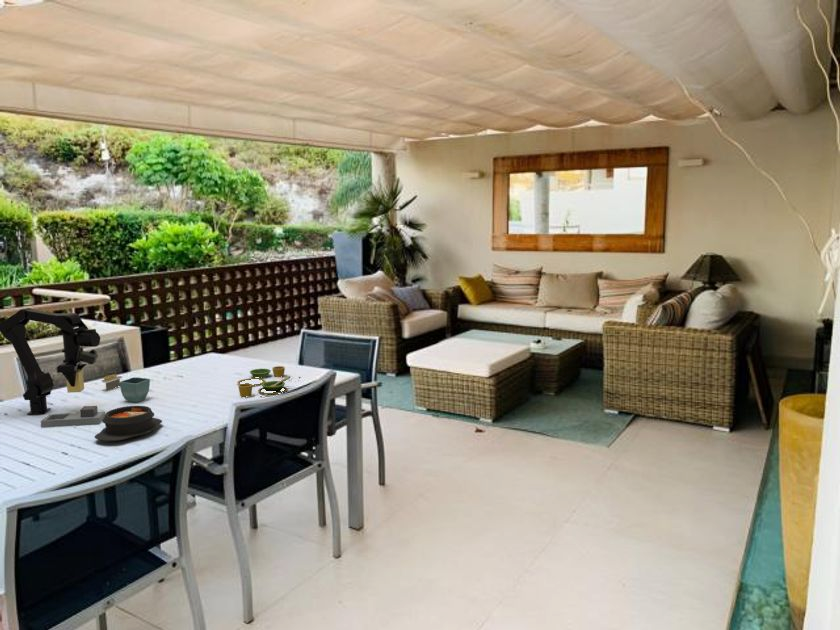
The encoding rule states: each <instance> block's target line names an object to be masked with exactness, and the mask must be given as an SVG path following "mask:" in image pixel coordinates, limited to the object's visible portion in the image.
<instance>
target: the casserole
mask: <svg viewBox="0 0 840 630" xmlns="http://www.w3.org/2000/svg"><path fill="white" fill-rule="evenodd" d="M154 416H155V413H154V412H153V411H152V409H151V407H150V406H146V405H129V406H122V407H116V408H114V409H111V410H109V411H107V412H105V417H104V419H103V420H102V423H104V426H105V427H104V428H102V429H101V430H100V432H98V433H97V434H95V435H94V439H96V440H97V441H102V442H103V441H104V442H119V441H125V440H127V439H133V438H138V437H141V436H144V435H146V434H149V433H152V432H153V431H155V430H156V429H157V428H158V426H159V425H160V424H162V422H163V420H162V419H160V418H158V417H154Z"/></svg>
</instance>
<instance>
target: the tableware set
mask: <svg viewBox="0 0 840 630" xmlns="http://www.w3.org/2000/svg"><path fill="white" fill-rule="evenodd" d="M285 371H286V367H285V366H284V365H283V366H282V365H279V366H273V367H272V373H273V378H274V377H281V376H284V377H283V378H284V379H282V378H281V379H282V380H281V379H280V380H281V381H280V380H271V381H266V380H265V378H261V377H266V376H267V377H268V376H269V374H271V369H269V368H256V369H251V370H250V371H249V373H250V374H251V376H252V378H244V379H240V380H238V381H237V386H238V392H239V396H241V397H240V398H242V397H246V396H252V393H253V387H256V386H255V385H259V386H261V387H260V388H259V389H258V390H257V391H258V393H259V394H260V393H262V394H261V395H262V396H263V394H267V395H264V396H265V397H269V396H276V395H275V394H278V393H282V392H285V391H286V392H288V387H287V386H284V385H286V382H285V381H286V380H289V379H290V378H291V375H289V376H287V375H286V376H287V377H286V376H285ZM254 377H259V378H254ZM267 377H266V378H267ZM251 379H259V380H262V381H263V382H262V383H260V384H262V385H260V384H254V385H252V384H249V383H245V384H240V382H242V381H245V380H251ZM282 388H284V389H285V390H284V391H282V392H281V391H280V390H281V389H282ZM262 389H265V390H266V391H276V392H273V393H264V392H261V390H262ZM286 392H285V393H286ZM270 394H272V395H270ZM273 394H274V395H273ZM282 394H283V393H282ZM278 395H279V394H278ZM262 396H260V397H261V398H263V397H262ZM265 397H264V398H265Z"/></svg>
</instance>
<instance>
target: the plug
mask: <svg viewBox="0 0 840 630" xmlns="http://www.w3.org/2000/svg"><path fill="white" fill-rule="evenodd" d="M83 369H84V368H83ZM83 369H80V370H79V371H78V372H77V373H76V380H75V386H74V387H72V386H71V385H70V383H69V382H68V380H67V379H66V378H65V379H66V381H65V382H66V389H67V390H66V391H67V392H66V393H69V394H70V393H81V392H82V391H84V390H85V382H84V370H83Z"/></svg>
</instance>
